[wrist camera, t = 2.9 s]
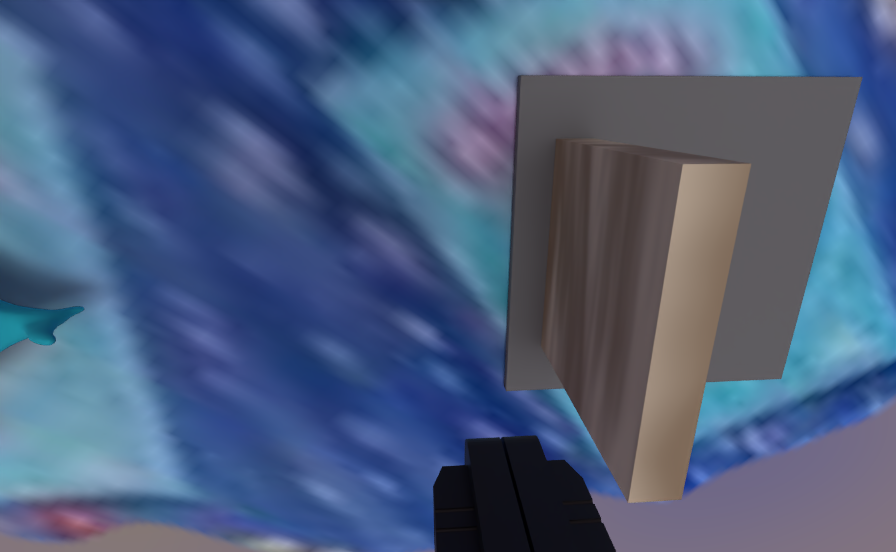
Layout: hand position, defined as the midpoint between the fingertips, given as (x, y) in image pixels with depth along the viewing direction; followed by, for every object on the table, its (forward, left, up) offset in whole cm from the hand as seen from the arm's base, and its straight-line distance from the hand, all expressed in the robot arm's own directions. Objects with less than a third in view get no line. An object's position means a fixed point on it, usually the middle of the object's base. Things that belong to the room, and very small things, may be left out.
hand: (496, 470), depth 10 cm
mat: (+13, 0, -17) cm, 22 cm away
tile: (+7, 0, -17) cm, 18 cm away
